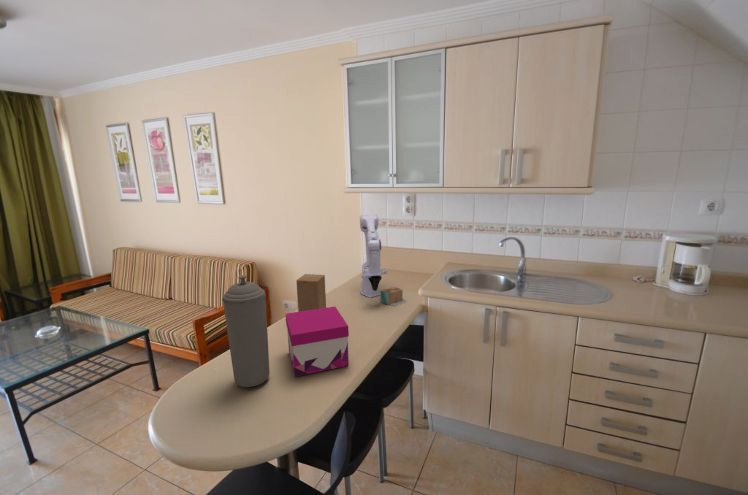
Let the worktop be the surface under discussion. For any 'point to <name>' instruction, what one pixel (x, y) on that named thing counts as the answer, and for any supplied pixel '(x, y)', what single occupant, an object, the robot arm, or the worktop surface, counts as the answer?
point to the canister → (247, 332)
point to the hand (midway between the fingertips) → (374, 290)
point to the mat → (398, 302)
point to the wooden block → (311, 292)
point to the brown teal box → (391, 295)
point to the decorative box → (317, 340)
